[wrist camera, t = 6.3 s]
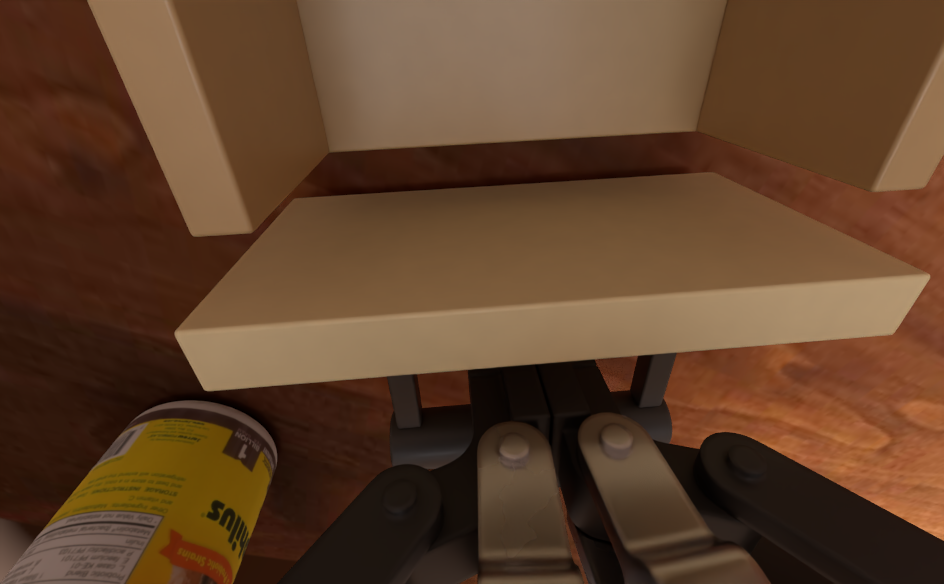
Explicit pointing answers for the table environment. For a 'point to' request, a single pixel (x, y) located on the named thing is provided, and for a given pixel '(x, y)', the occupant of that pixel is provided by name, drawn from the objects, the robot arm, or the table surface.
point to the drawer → (526, 205)
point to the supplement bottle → (160, 503)
